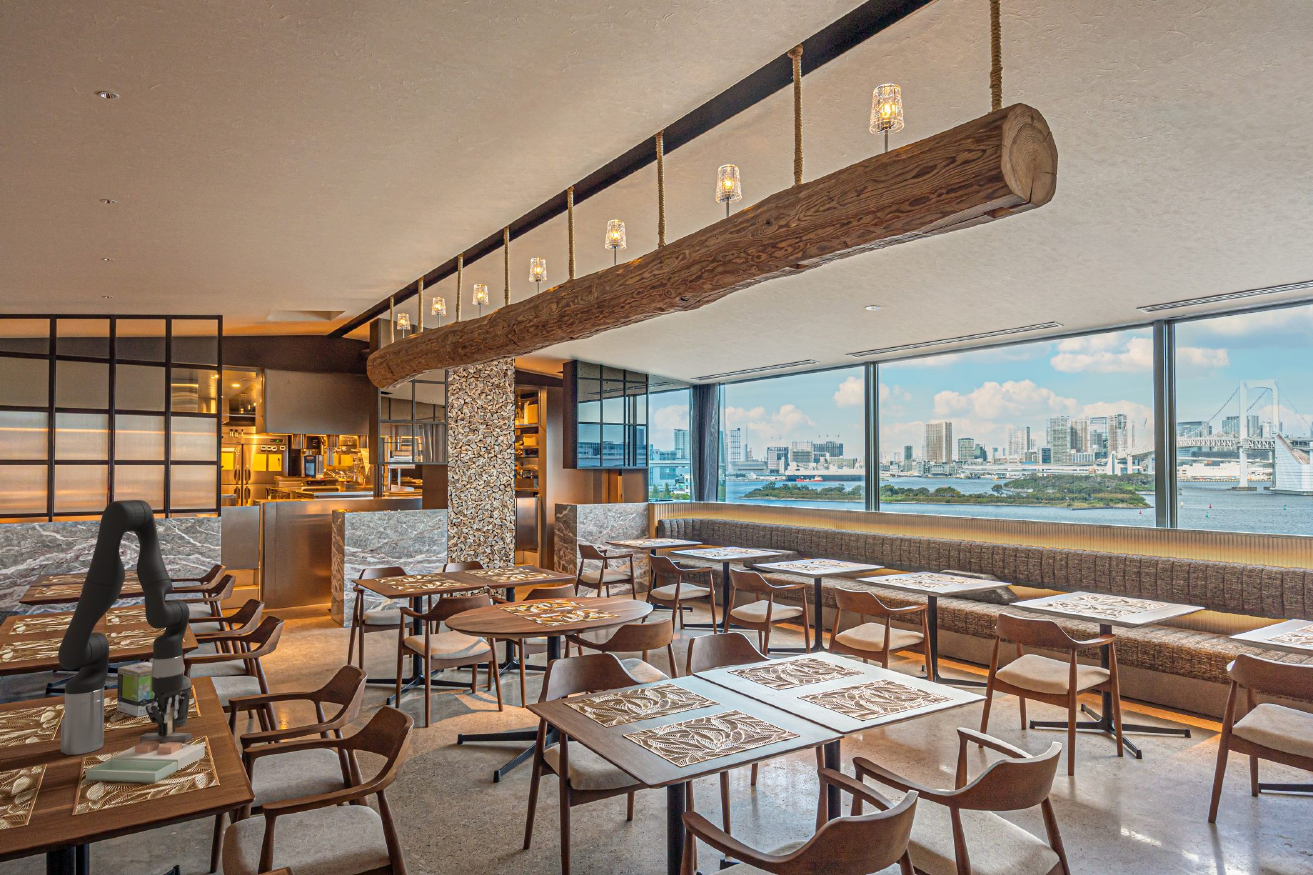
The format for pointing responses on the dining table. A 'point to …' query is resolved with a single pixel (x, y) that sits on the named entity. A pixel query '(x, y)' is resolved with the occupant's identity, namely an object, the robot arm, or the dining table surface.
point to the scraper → (170, 735)
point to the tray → (131, 771)
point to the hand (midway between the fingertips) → (166, 733)
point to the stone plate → (166, 755)
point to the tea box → (135, 688)
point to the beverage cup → (186, 688)
